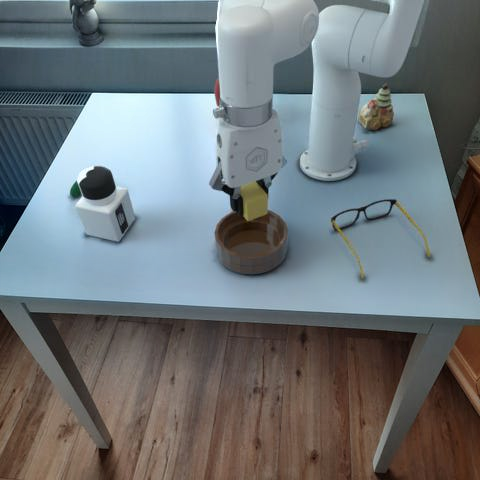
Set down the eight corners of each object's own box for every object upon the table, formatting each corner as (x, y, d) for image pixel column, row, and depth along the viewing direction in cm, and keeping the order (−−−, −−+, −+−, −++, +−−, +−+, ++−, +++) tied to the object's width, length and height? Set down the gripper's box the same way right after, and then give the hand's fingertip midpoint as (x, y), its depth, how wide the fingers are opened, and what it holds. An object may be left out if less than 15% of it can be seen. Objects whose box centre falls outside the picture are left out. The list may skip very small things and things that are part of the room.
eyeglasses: (389, 211, 97) (393, 195, 94) (429, 257, 88) (436, 242, 85) (326, 229, 94) (328, 214, 91) (362, 279, 86) (366, 264, 83)
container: (136, 218, 99) (121, 164, 88) (119, 243, 94) (101, 189, 84) (104, 211, 101) (85, 158, 90) (85, 235, 96) (64, 182, 86)
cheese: (251, 195, 85) (251, 176, 82) (267, 213, 82) (268, 195, 79) (231, 202, 84) (230, 183, 81) (247, 221, 81) (247, 202, 78)
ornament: (368, 135, 113) (376, 94, 105) (353, 123, 117) (359, 82, 109) (394, 125, 115) (404, 84, 107) (379, 114, 119) (387, 73, 111)
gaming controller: (112, 208, 104) (118, 181, 103) (102, 205, 100) (108, 177, 99) (78, 198, 106) (84, 171, 105) (67, 195, 103) (73, 167, 102)
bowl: (265, 218, 97) (265, 199, 93) (300, 259, 90) (301, 240, 86) (205, 241, 94) (203, 222, 90) (236, 286, 86) (235, 267, 82)
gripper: (205, 136, 64) (216, 236, 79) (309, 103, 68) (301, 204, 83) (184, 111, 68) (197, 210, 83) (283, 82, 73) (279, 181, 87)
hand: (249, 206), depth 83 cm, fingers closed on cheese, 4 cm apart
